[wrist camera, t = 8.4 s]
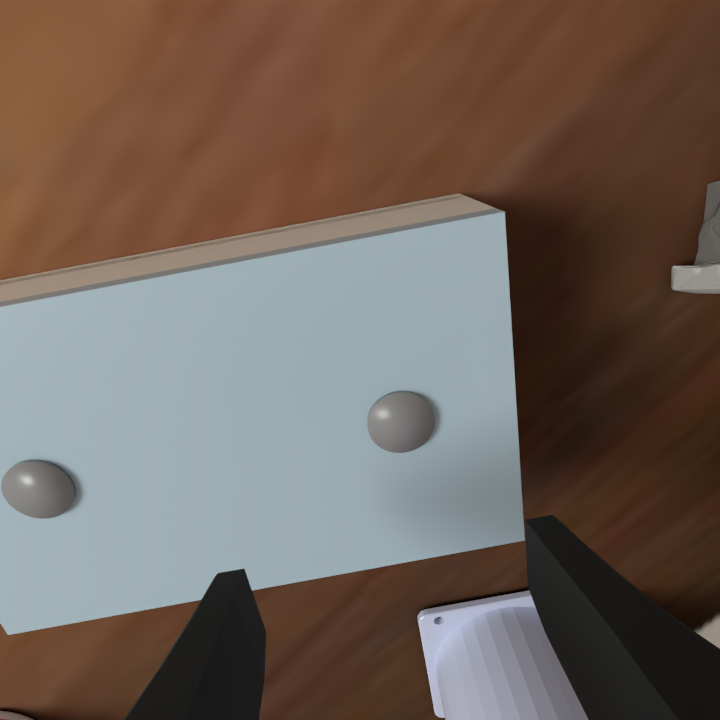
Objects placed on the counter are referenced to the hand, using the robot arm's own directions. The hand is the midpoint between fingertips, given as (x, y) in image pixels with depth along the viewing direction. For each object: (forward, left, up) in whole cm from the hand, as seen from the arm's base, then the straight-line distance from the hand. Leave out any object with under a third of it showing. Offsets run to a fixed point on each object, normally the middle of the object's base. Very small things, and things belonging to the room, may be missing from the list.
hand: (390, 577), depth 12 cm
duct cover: (+4, -1, -5) cm, 7 cm away
